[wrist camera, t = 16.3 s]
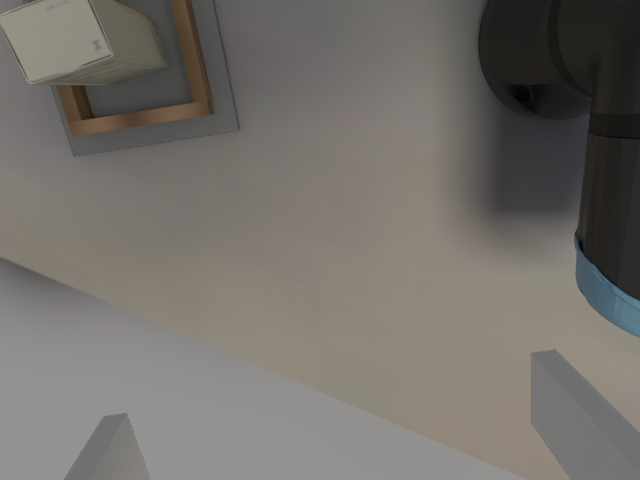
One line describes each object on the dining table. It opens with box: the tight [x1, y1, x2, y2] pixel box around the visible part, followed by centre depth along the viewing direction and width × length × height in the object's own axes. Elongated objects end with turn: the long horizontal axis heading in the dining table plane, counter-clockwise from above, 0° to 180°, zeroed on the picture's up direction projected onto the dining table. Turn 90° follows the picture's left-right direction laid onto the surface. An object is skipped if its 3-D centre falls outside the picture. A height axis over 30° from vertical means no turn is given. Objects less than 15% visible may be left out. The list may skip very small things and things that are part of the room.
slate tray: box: [23, 0, 240, 156], centre depth 39 cm, size 16×16×1 cm
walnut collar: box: [28, 0, 216, 136], centre depth 37 cm, size 12×12×2 cm
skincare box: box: [0, 0, 170, 86], centre depth 32 cm, size 6×4×12 cm
